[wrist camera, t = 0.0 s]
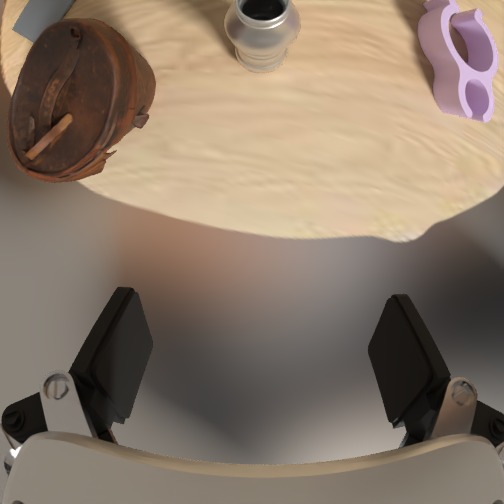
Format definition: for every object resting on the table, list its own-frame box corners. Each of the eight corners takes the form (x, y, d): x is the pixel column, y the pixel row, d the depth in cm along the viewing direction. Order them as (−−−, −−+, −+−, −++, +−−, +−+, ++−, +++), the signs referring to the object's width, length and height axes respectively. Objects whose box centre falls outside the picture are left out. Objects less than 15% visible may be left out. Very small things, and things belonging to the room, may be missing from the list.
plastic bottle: (230, 68, 30) (199, 31, 13) (245, 27, 27) (231, -41, 10) (277, 81, 31) (296, 54, 14) (292, 39, 28) (323, -19, 11)
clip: (475, 121, 30) (501, 128, 24) (422, 108, 31) (448, 112, 25) (466, 20, 20) (490, 15, 14) (410, -3, 21) (432, -14, 15)
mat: (52, -29, 15) (51, -30, 15) (90, -18, 20) (88, -19, 19) (13, 29, 21) (12, 29, 20) (44, 47, 25) (42, 47, 25)
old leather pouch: (76, 165, 37) (2, 206, 21) (71, 53, 27) (-8, 48, 11) (174, 154, 37) (119, 192, 21) (173, 26, 27) (118, -18, 11)
